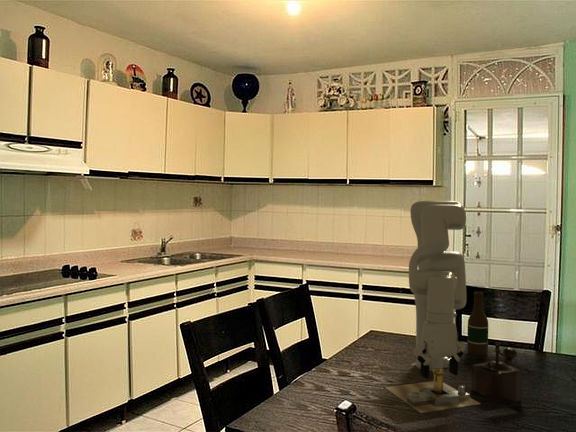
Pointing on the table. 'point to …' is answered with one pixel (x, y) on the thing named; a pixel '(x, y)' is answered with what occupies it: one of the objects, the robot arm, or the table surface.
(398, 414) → the table surface
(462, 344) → the robot arm
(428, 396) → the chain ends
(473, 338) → the beer bottle
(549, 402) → the table surface
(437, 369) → the brass pin
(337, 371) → the table surface
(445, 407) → the maple board
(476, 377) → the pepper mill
